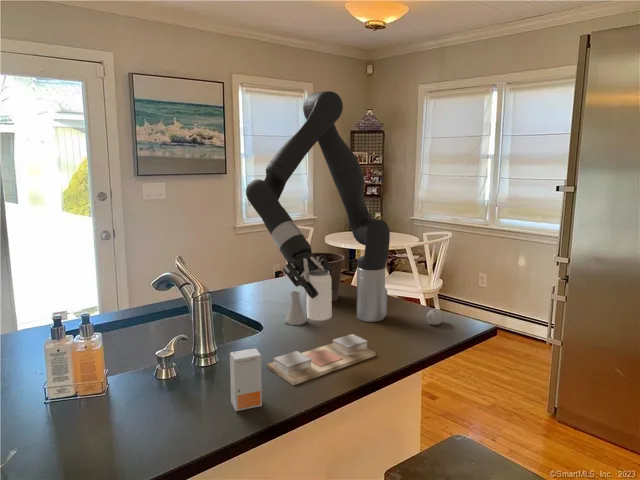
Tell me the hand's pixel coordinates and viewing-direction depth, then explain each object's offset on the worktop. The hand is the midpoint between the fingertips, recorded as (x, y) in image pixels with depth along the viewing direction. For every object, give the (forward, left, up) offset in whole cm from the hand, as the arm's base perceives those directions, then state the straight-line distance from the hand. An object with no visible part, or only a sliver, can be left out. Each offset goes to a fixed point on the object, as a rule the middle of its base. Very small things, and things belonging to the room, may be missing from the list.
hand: (324, 293), depth 122 cm
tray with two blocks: (0, -1, -19) cm, 19 cm away
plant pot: (-33, -44, -19) cm, 58 cm away
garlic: (-45, -1, -19) cm, 49 cm away
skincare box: (+27, +6, -19) cm, 33 cm away
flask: (-11, -30, -19) cm, 37 cm away
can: (0, -2, -7) cm, 7 cm away
